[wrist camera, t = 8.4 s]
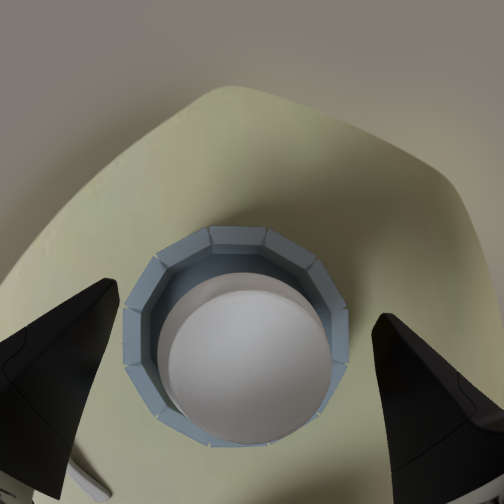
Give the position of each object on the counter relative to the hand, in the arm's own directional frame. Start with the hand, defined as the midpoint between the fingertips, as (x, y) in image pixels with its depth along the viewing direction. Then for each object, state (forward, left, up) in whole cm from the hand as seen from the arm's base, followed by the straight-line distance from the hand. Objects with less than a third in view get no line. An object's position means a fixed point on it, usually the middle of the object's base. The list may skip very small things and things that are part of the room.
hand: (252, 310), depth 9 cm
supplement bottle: (-2, 0, -8) cm, 8 cm away
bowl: (-1, 0, -9) cm, 9 cm away
